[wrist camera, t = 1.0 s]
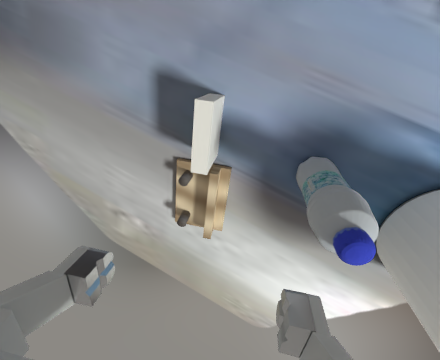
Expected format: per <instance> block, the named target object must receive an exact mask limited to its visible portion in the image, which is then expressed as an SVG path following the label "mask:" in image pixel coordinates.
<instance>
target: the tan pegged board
mask: <svg viewBox="0 0 440 360" xmlns="http://www.w3.org/2000/svg"><path fill="white" fill-rule="evenodd" d="M231 168H232V167H226V166H221V165H215V164H212V166H211V168H210V170H209V172H208V174H207V175H204V174H198V173H192V172H191V160H186V159H180V158H178V159H177V174H176V210H175V222H177V224H178V225H179V226H181V227H184V226H185V225H186V224H189V225H194V226H199V227H204V235H203V238H208V239H210V238H211V235H212V231H213V229H214V230H219V231H222V228H223V221H224V214H225V208H226V201H227V195H228V188H229V181H230V175H231Z"/></svg>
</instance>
